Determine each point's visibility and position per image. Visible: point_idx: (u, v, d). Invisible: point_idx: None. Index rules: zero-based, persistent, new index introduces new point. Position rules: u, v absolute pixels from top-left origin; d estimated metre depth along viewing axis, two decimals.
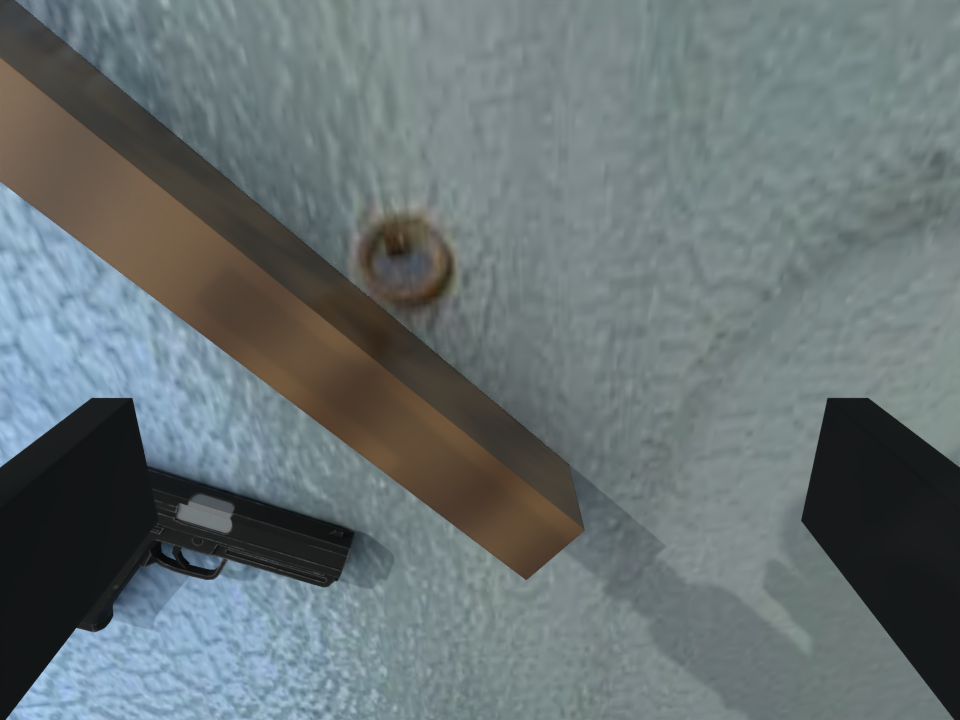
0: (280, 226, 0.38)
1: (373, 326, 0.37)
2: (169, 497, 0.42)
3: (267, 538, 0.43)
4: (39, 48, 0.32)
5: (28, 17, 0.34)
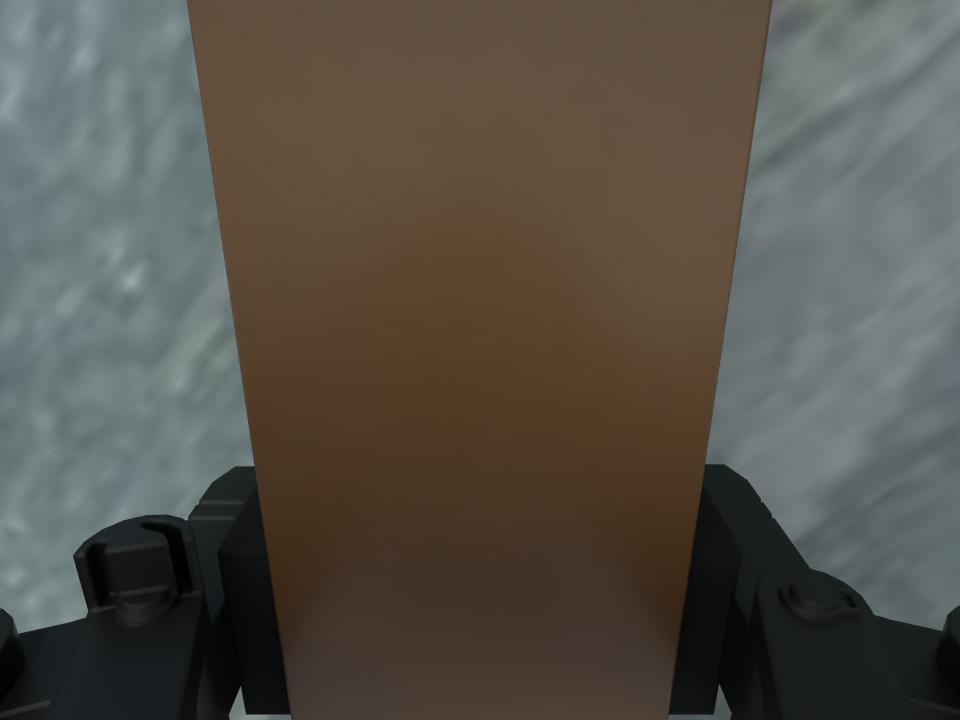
0: None
1: None
2: None
3: None
4: None
5: None
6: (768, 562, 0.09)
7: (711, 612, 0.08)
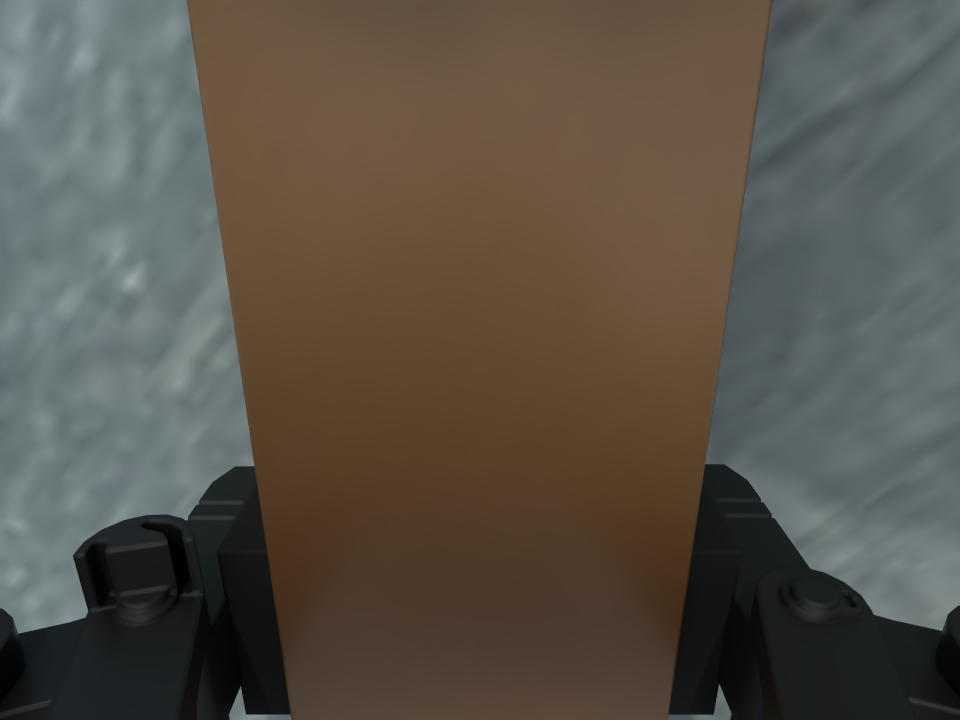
0: None
1: None
2: None
3: None
4: None
5: None
6: (768, 562, 0.09)
7: (711, 612, 0.08)
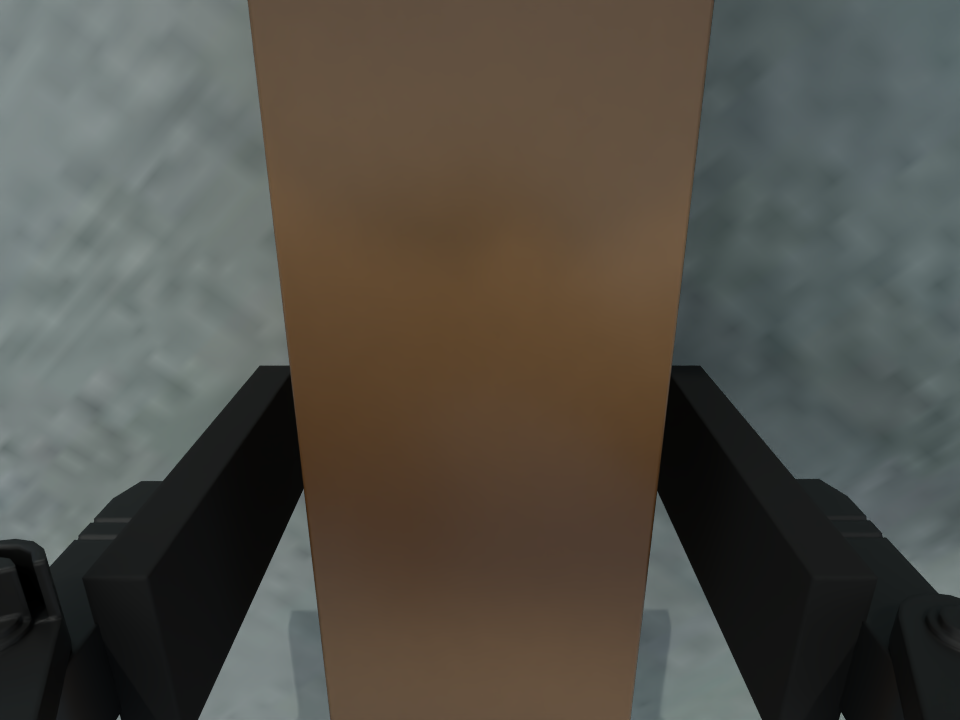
0: None
1: None
2: None
3: None
4: None
5: None
6: (892, 586, 0.08)
7: (838, 640, 0.08)
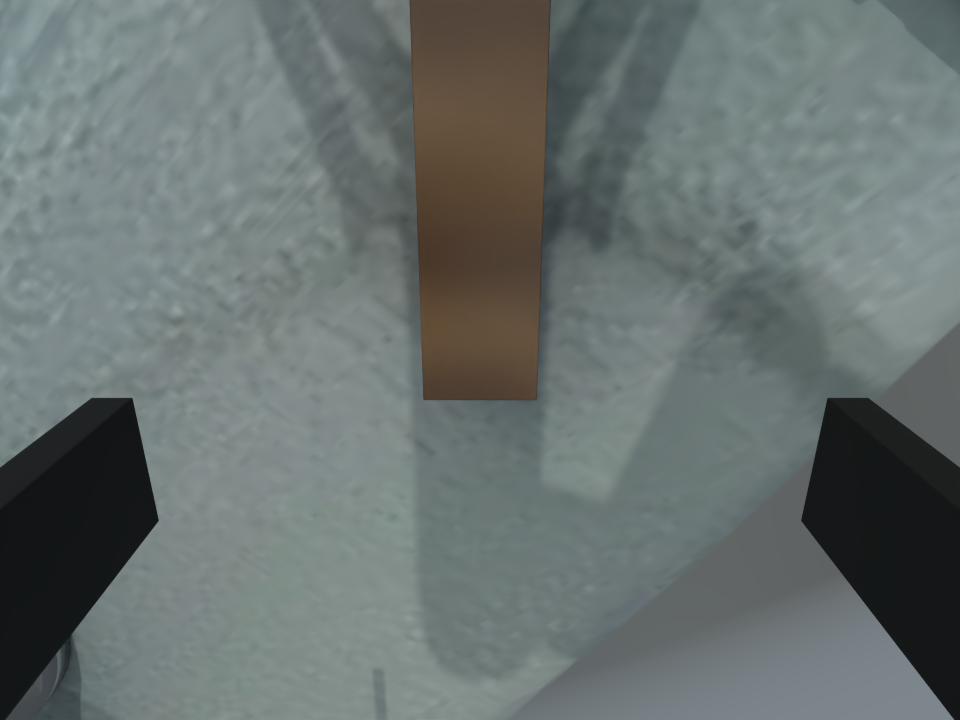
0: None
1: None
2: None
3: None
4: None
5: None
6: None
7: None
